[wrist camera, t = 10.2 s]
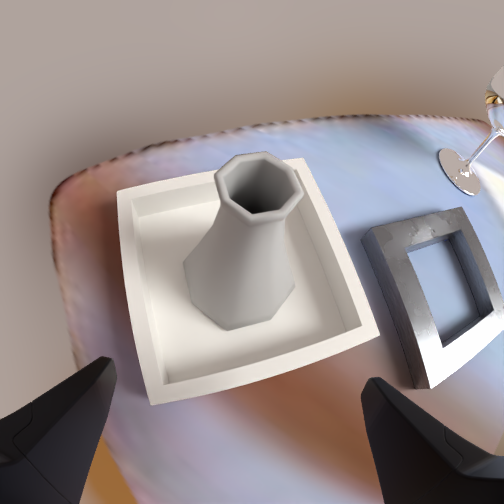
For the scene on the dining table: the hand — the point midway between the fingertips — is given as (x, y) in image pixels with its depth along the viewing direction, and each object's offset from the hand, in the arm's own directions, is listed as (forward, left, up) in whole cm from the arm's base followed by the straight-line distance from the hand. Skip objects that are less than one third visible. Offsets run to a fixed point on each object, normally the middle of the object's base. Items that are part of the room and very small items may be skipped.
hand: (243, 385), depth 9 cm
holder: (+1, -19, -9) cm, 21 cm away
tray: (+7, -2, -9) cm, 11 cm away
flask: (+6, -2, -9) cm, 11 cm away
